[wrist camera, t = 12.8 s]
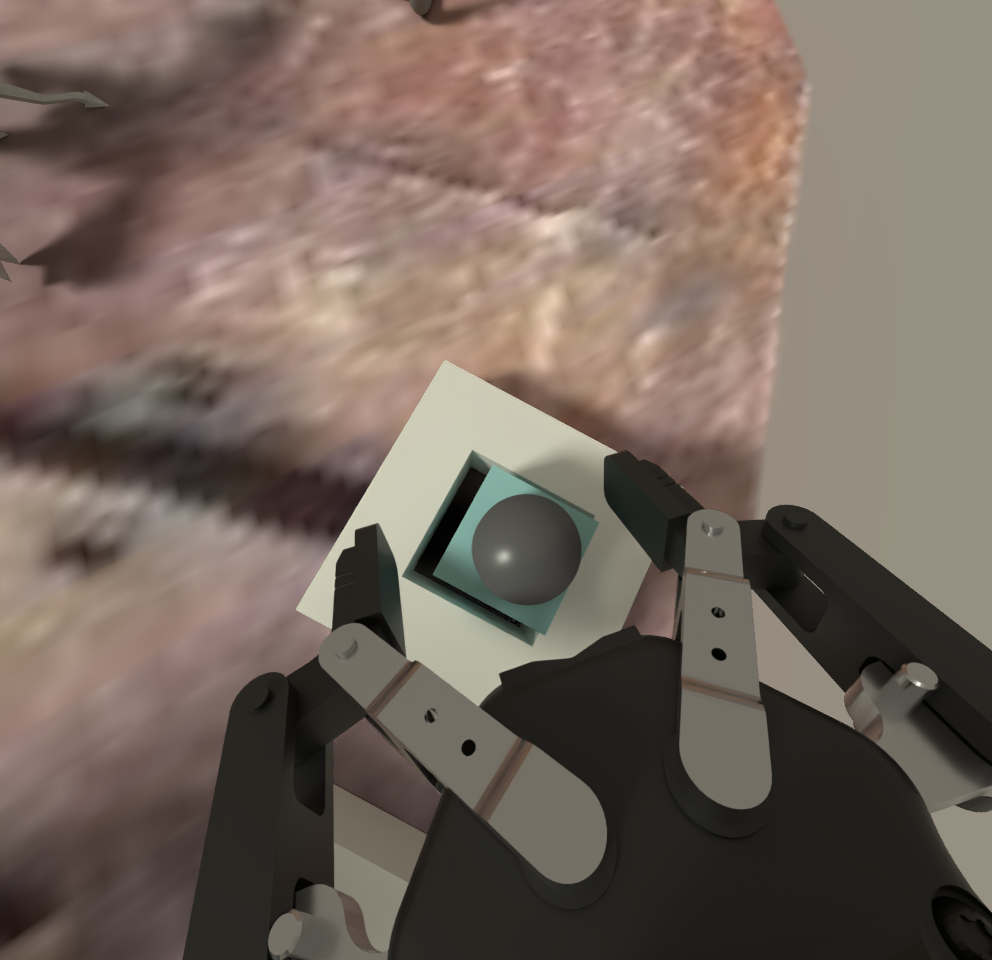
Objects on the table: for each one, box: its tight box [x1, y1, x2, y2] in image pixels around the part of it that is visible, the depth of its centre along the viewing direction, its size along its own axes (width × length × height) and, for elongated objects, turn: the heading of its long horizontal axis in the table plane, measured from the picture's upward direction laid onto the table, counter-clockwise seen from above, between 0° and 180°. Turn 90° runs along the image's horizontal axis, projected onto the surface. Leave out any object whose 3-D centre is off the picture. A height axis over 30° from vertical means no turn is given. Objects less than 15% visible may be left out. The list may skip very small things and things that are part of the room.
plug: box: [433, 465, 599, 635], centre depth 16 cm, size 4×4×10 cm
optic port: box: [296, 360, 684, 707], centre depth 19 cm, size 12×12×4 cm
